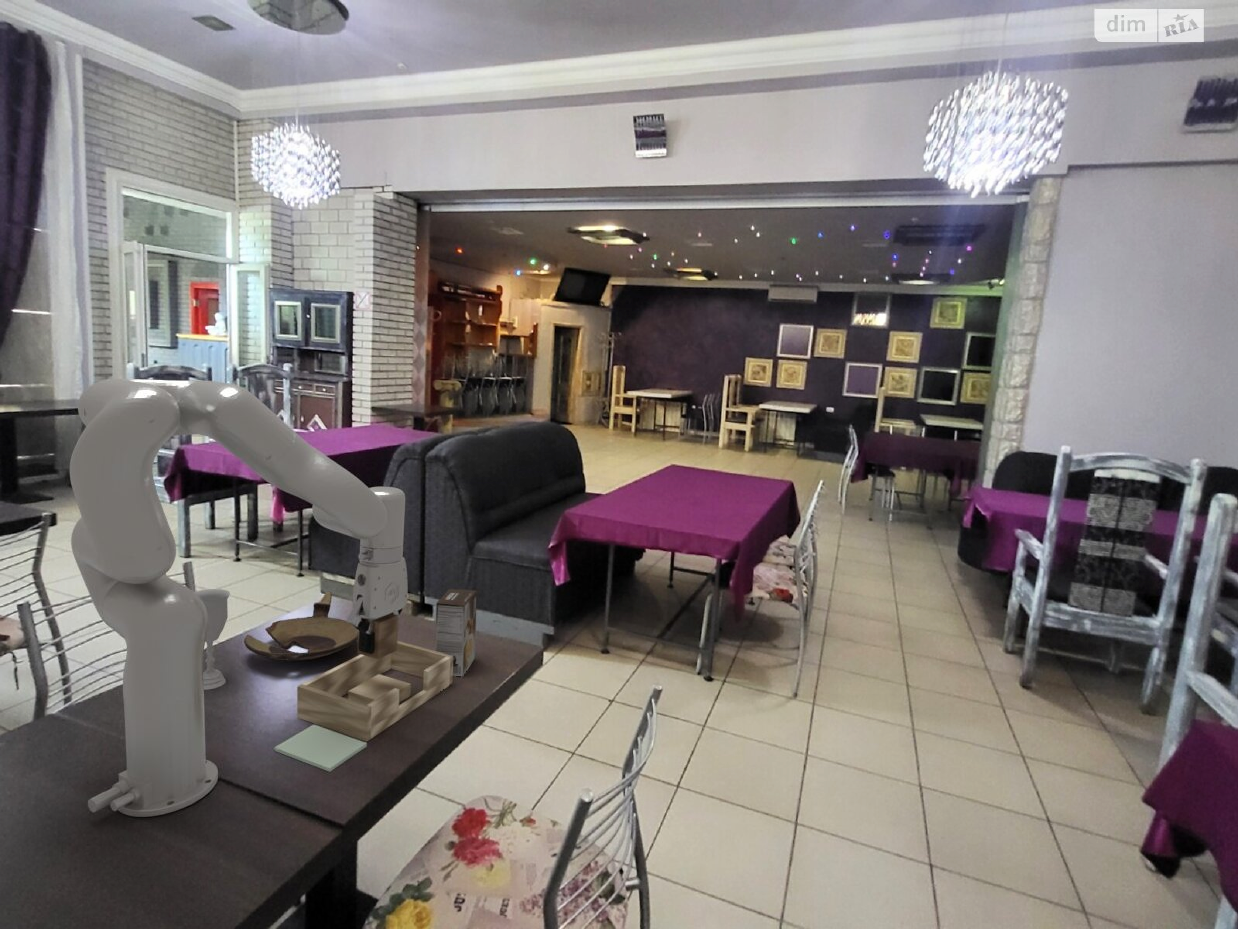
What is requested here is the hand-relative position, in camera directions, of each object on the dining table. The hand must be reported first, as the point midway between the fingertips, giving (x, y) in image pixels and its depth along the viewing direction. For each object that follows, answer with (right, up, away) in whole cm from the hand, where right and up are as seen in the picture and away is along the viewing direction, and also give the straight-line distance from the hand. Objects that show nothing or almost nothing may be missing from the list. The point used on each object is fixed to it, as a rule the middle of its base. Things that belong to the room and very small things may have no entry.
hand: (377, 645), depth 124 cm
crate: (0, -11, +2) cm, 11 cm away
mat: (-4, -13, -15) cm, 20 cm away
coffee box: (+10, -10, +18) cm, 23 cm away
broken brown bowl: (-22, -7, +22) cm, 32 cm away
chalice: (-34, -9, +4) cm, 35 cm away
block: (0, -1, 0) cm, 1 cm away
